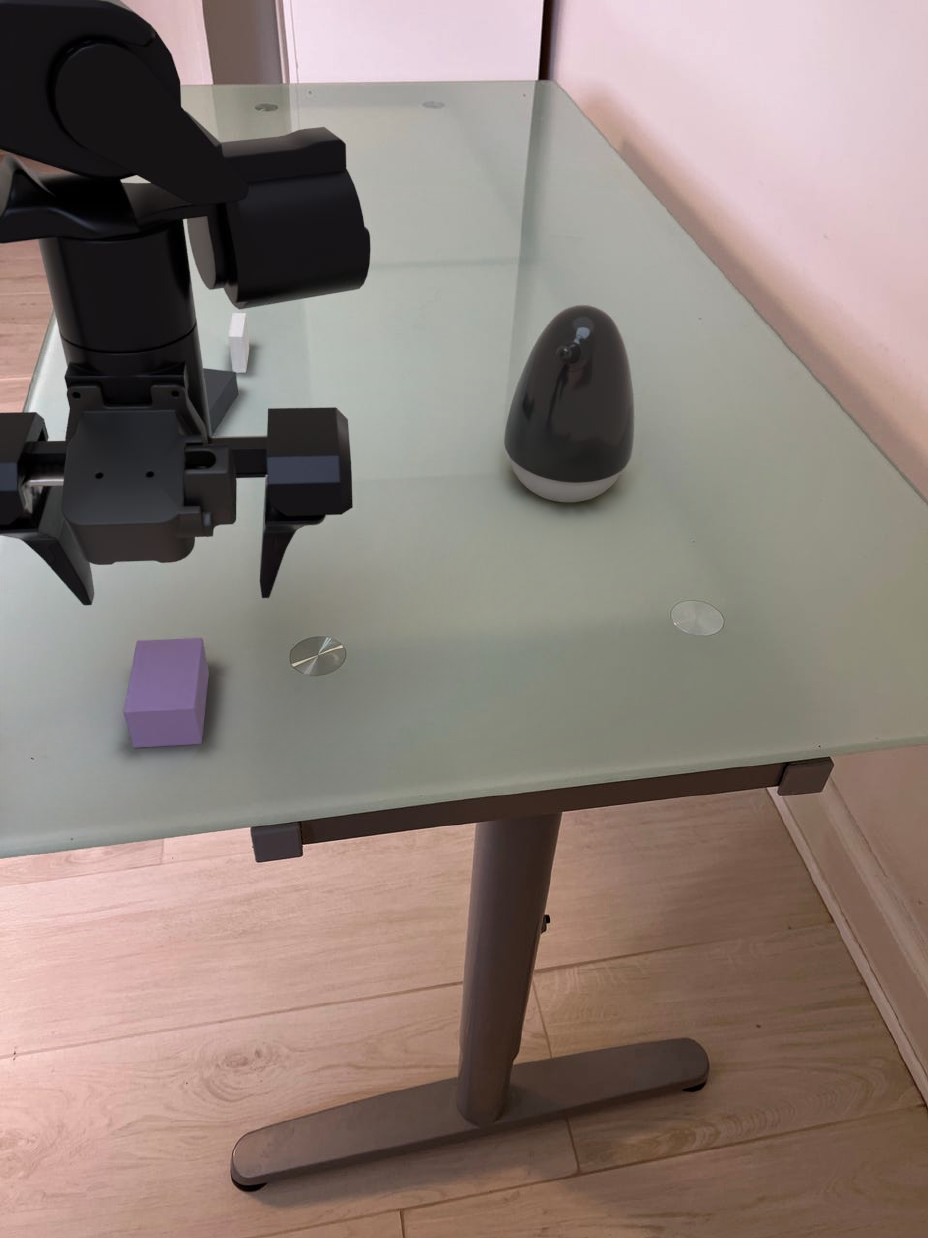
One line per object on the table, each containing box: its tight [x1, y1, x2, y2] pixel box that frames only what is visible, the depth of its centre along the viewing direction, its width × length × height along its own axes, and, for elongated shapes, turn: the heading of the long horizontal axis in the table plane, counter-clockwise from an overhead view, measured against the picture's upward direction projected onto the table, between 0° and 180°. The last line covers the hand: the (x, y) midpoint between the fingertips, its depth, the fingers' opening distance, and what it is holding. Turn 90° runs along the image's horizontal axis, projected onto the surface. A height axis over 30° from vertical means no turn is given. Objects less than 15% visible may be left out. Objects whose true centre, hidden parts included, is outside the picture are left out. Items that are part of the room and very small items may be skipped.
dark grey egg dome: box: [503, 304, 635, 503], centre depth 76 cm, size 10×10×15 cm
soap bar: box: [123, 637, 210, 749], centre depth 60 cm, size 6×4×3 cm, turn 7°
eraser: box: [228, 312, 250, 374], centre depth 93 cm, size 1×5×4 cm, turn 5°
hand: (178, 596), depth 53 cm, fingers open, 9 cm apart
